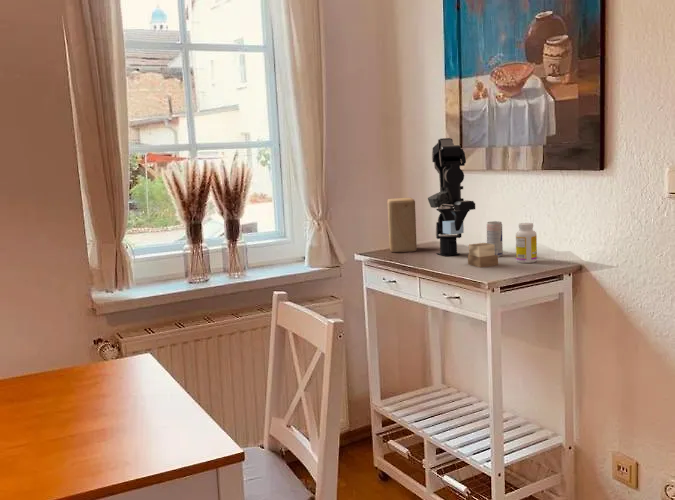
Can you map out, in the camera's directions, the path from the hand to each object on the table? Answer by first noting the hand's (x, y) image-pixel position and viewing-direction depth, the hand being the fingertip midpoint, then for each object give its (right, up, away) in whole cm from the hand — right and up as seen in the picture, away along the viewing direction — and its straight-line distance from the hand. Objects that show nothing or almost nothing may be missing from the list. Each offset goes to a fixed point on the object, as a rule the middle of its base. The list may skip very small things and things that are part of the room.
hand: (453, 229), depth 230 cm
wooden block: (-14, -7, +35) cm, 38 cm away
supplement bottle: (+24, -11, -2) cm, 27 cm away
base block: (+9, -12, -3) cm, 16 cm away
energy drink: (+17, -9, +12) cm, 23 cm away
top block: (0, -1, 0) cm, 1 cm away
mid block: (+9, -8, -4) cm, 13 cm away
